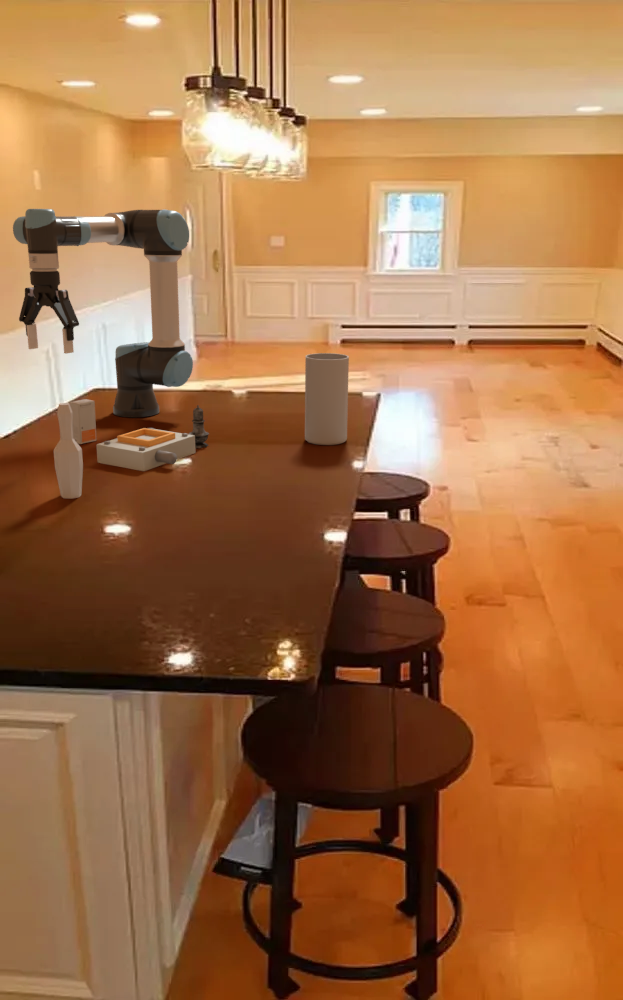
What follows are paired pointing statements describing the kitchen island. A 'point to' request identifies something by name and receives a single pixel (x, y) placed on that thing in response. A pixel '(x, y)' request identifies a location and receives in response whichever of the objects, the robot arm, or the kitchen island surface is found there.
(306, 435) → the cylinder vase
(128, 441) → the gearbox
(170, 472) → the kitchen island surface
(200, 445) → the chess piece
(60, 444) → the low poly bottle
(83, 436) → the skincare box
